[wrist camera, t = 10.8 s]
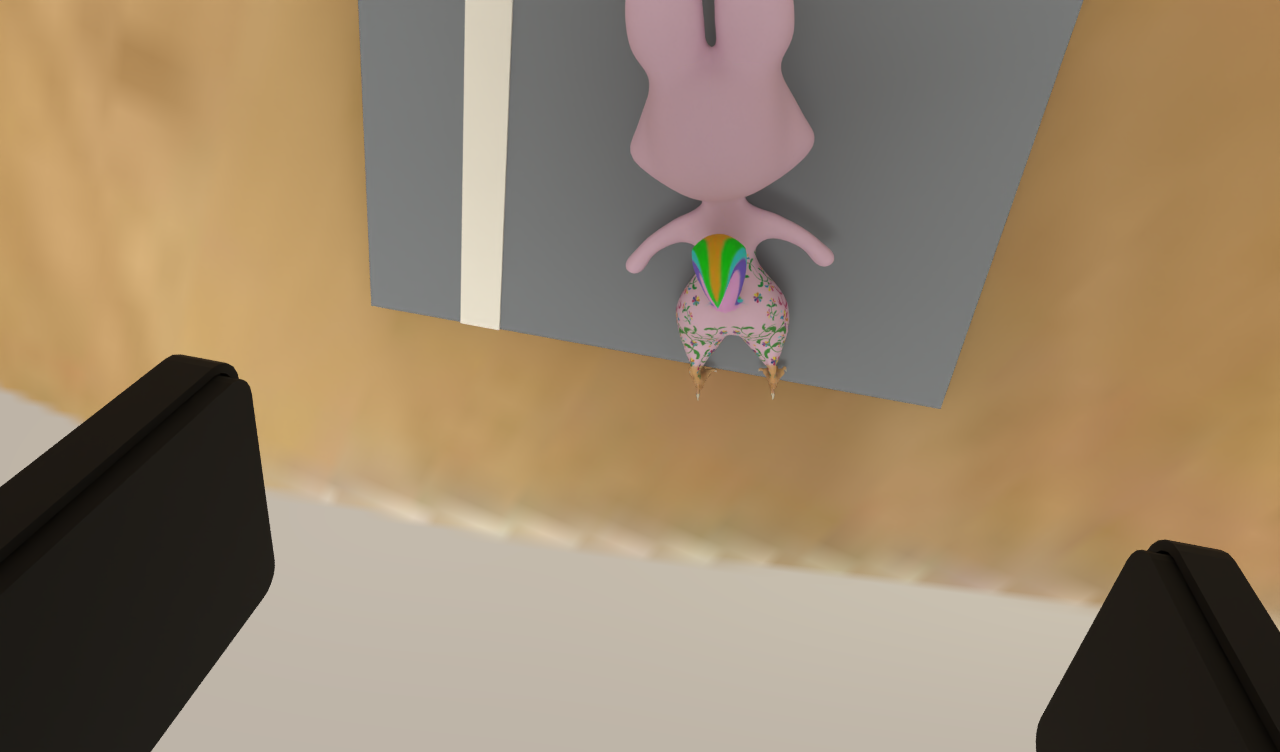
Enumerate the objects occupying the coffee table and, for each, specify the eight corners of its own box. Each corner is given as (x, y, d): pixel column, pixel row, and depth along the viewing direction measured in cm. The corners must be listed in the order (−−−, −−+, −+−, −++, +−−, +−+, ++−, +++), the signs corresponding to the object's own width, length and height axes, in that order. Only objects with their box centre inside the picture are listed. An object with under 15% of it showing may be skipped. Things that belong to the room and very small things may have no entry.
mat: (357, -241, 23) (345, -244, 23) (1124, -140, 22) (1133, -141, 21) (378, 298, 31) (370, 306, 31) (937, 399, 30) (940, 410, 29)
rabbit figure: (830, 340, 30) (835, -162, 21) (837, 460, 26) (847, -115, 16) (652, 344, 31) (583, -131, 22) (628, 459, 27) (528, -78, 18)
